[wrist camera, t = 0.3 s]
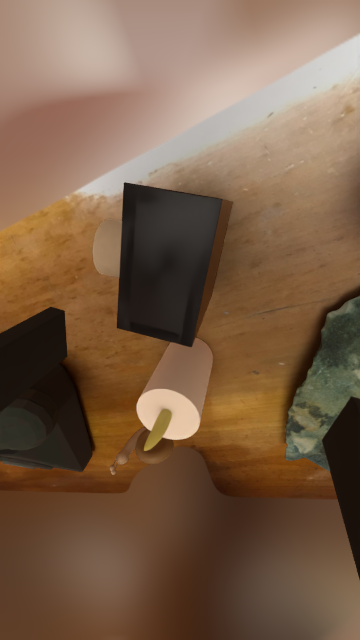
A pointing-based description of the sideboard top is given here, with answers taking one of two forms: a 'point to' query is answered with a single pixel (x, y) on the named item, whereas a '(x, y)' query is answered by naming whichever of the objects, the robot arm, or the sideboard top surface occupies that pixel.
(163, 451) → the snail figurine
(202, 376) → the candle
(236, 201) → the sideboard top surface
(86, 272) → the sideboard top surface
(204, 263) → the control box
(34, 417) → the rotary telephone
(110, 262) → the knob
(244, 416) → the sideboard top surface
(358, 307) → the decorative stone
